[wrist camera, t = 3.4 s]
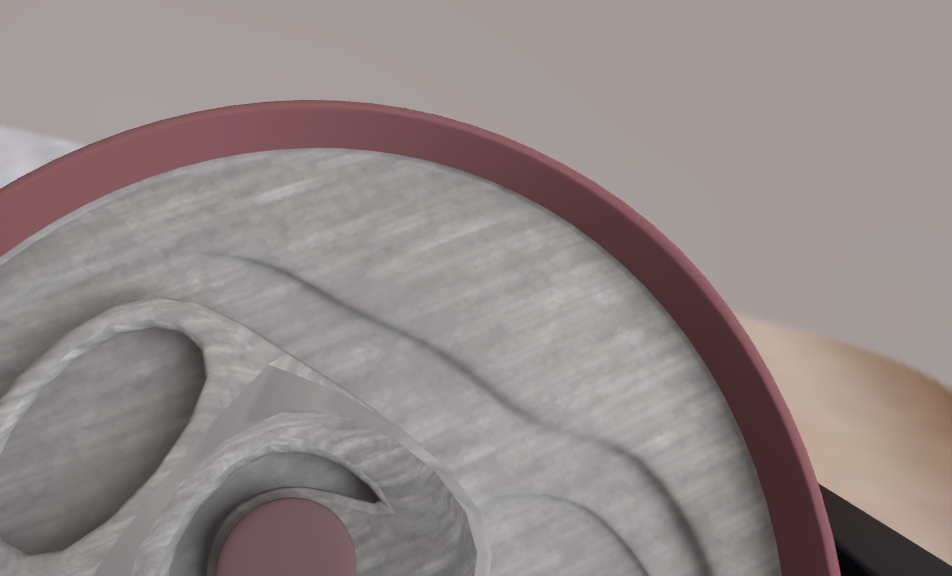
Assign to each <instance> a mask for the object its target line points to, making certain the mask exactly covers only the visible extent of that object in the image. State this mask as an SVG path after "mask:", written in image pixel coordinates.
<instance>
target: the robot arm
mask: <svg viewBox="0 0 952 576" xmlns="http://www.w3.org/2000/svg"><path fill="white" fill-rule="evenodd" d="M818 485H819V488H820V491H821V494H822V498H823V501H824V505H825V509H826V512H827V516H828V520H829V523H830V527H831V531H832V534H833V538H834V543H835V548H836V553H837V558H838V563H839V568H840V573H841V576H952V566H951V565H949V564H947V563H946V562H944V561H943V560H941V559H939V558H938V557H936V556H934V555H933V554H931V553H930V552H928V551H926V550H925V549H923V548H922V547H920V546H918V545H917V544H915V543H914V542H912V541H910V540H909V539H907V538H905V537H904V536H902V535H901V534H899V533H897V532H896V531H894V530H893V529H891V528H889V527H888V526H886V525H885V524H883V523H881V522H880V521H878V520H877V519H875V518H873V517H872V516H870V515H869V514H867V513H865V512H864V511H862V510H860V509H859V508H857V507H856V506H854V505H852V504H851V503H849V502H848V501H846V500H844V499H843V498H841V497H840V496H838V495H836V494H835V493H833V492H832V491H830V490H828V489H827V488H825V487H823V486H822V485H820V484H819V483H818Z"/></svg>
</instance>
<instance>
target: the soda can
mask: <svg viewBox="0 0 952 576" xmlns="http://www.w3.org/2000/svg"><path fill="white" fill-rule="evenodd" d="M0 576H841V573H840V568H839V563H838V558H837V553H836V548H835V543H834V538H833V534H832V531H831V527H830V523H829V520H828V516H827V512H826V509H825V505H824V501H823V498H822V494H821V491H820V488H819V485H818V482H817V479H816V477H815V474H814V471H813V468H812V465H811V462H810V459H809V456H808V454H807V451H806V448H805V446H804V444H803V441H802V439H801V437H800V434H799V432H798V429H797V427H796V425H795V422H794V420H793V418H792V415H791V413H790V411H789V409H788V407H787V405H786V403H785V401H784V399H783V397H782V395H781V393H780V391H779V389H778V387H777V385H776V383H775V381H774V379H773V377H772V375H771V373H770V371H769V370H768V368H767V366H766V365H765V363H764V361H763V359H762V358H761V356H760V354H759V353H758V351H757V349H756V347H755V346H754V344H753V342H752V341H751V339H750V337H749V336H748V335H747V333H746V332H745V330H744V329H743V327H742V326H741V324H740V323H739V321H738V320H737V318H736V317H735V315H734V314H733V312H732V311H731V309H730V308H729V307H728V305H727V304H726V303H725V302H724V300H723V299H722V298H721V296H720V295H719V294H718V293H717V291H716V290H715V289H714V288H713V286H712V285H711V284H710V282H708V280H707V279H706V278H705V276H704V275H703V274H702V273H701V272H700V271H699V270H698V269H697V268H696V267H695V265H694V264H693V263H692V262H691V261H690V260H689V259H688V258H687V257H686V256H685V255H684V253H683V252H682V251H681V250H680V249H679V248H678V247H676V246H675V245H674V244H673V243H672V242H671V241H670V240H669V239H668V238H667V237H666V236H665V235H664V234H662V233H661V232H660V231H659V230H658V229H657V228H656V227H655V226H654V225H653V224H651V223H650V222H649V221H647V220H646V219H645V218H644V217H642V216H641V215H640V214H639V213H637V212H636V211H635V210H634V209H632V208H631V207H630V206H629V205H627V204H626V203H625V202H623V201H622V200H620V199H619V198H617V197H616V196H614V195H613V194H611V193H610V192H608V191H607V190H605V189H604V188H603V187H601V186H600V185H598V184H597V183H595V182H593V181H591V180H590V179H588V178H586V177H585V176H583V175H581V174H580V173H578V172H576V171H575V170H573V169H571V168H569V167H568V166H566V165H564V164H562V163H560V162H558V161H556V160H554V159H552V158H550V157H548V156H546V155H544V154H542V153H540V152H538V151H536V150H534V149H532V148H529V147H527V146H525V145H523V144H520V143H518V142H516V141H513V140H511V139H509V138H506V137H504V136H501V135H498V134H496V133H493V132H490V131H487V130H484V129H482V128H479V127H476V126H473V125H470V124H466V123H463V122H460V121H456V120H453V119H449V118H445V117H442V116H438V115H434V114H429V113H424V112H419V111H415V110H410V109H406V108H399V107H392V106H385V105H378V104H371V103H359V102H346V101H326V100H319V101H318V100H297V101H296V100H295V101H273V102H261V103H252V104H243V105H234V106H227V107H222V108H216V109H210V110H204V111H199V112H194V113H190V114H186V115H181V116H178V117H173V118H169V119H165V120H160V121H157V122H154V123H151V124H147V125H144V126H141V127H137V128H134V129H131V130H127V131H124V132H122V133H119V134H116V135H114V136H111V137H108V138H105V139H103V140H100V141H97V142H95V143H92V144H89V145H87V146H85V147H83V148H80V149H78V150H76V151H73V152H71V153H69V154H67V155H64V156H62V157H60V158H58V159H55V160H53V161H51V162H49V163H47V164H45V165H43V166H41V167H40V168H38V169H36V170H34V171H32V172H30V173H28V174H26V175H24V176H22V177H20V178H18V179H17V180H15V181H13V182H11V183H10V184H8V185H6V186H5V187H3V188H1V189H0Z"/></svg>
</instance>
